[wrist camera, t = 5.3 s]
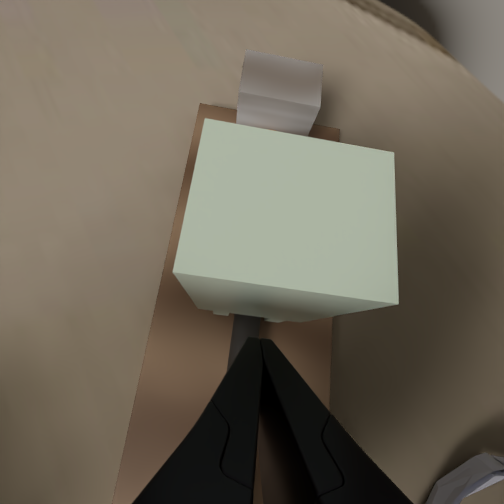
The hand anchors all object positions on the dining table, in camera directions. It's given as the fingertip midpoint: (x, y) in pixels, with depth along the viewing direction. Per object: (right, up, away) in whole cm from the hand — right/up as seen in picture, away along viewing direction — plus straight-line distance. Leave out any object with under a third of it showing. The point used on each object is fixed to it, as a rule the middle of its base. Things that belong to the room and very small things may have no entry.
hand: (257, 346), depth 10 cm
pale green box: (0, +2, +6) cm, 7 cm away
